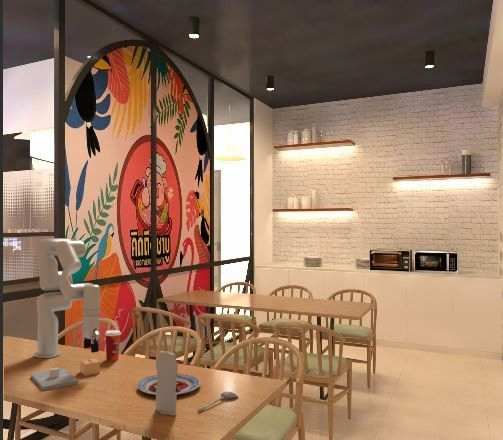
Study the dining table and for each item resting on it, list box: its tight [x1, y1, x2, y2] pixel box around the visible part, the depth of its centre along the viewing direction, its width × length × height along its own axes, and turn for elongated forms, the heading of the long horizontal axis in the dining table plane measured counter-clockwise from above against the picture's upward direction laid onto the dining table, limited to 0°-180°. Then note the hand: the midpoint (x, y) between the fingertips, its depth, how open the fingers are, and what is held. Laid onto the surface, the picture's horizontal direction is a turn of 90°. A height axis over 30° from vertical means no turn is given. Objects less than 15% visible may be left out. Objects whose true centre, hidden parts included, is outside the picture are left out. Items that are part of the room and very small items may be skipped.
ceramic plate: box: [136, 373, 201, 396], centre depth 194 cm, size 26×26×3 cm
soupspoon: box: [197, 391, 239, 414], centre depth 178 cm, size 22×3×7 cm
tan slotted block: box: [79, 358, 101, 377], centre depth 212 cm, size 7×7×5 cm
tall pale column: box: [155, 350, 179, 417], centre depth 169 cm, size 11×4×22 cm, turn 56°
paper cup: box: [104, 329, 122, 362], centre depth 233 cm, size 8×8×14 cm
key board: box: [30, 367, 79, 392], centre depth 200 cm, size 20×14×5 cm
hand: (91, 350), depth 211 cm, fingers open, 9 cm apart
